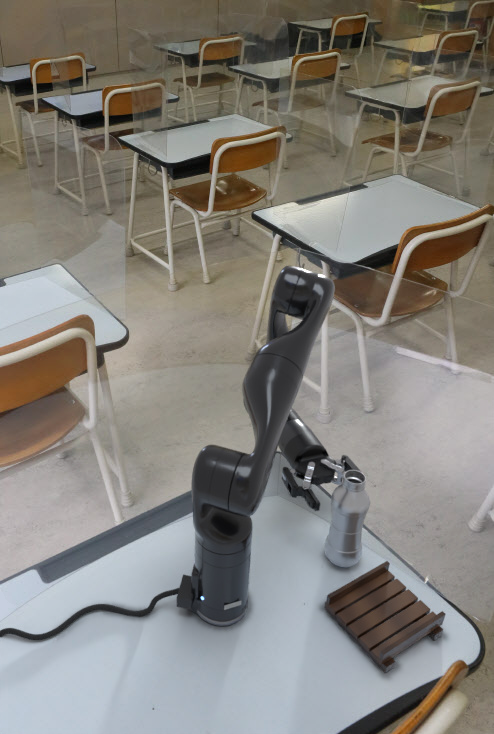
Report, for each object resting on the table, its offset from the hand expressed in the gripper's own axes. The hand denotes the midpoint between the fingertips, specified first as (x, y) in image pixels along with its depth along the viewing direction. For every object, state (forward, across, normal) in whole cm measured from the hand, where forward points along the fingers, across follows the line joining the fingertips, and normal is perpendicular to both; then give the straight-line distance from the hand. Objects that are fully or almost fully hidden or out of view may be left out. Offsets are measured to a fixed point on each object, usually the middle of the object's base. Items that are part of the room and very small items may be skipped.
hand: (339, 502), depth 124 cm
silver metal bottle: (+3, 0, +11) cm, 12 cm away
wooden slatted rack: (+17, 0, +11) cm, 20 cm away
